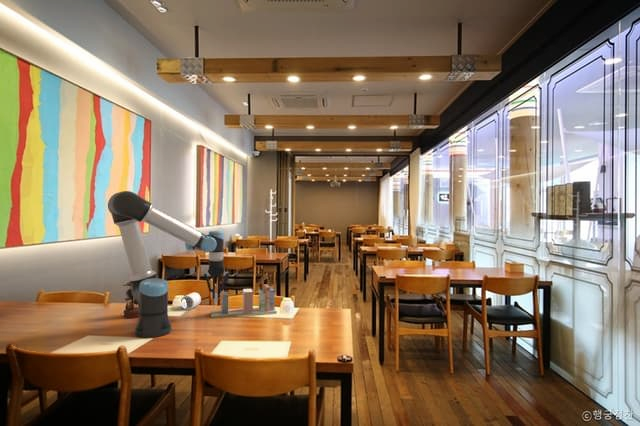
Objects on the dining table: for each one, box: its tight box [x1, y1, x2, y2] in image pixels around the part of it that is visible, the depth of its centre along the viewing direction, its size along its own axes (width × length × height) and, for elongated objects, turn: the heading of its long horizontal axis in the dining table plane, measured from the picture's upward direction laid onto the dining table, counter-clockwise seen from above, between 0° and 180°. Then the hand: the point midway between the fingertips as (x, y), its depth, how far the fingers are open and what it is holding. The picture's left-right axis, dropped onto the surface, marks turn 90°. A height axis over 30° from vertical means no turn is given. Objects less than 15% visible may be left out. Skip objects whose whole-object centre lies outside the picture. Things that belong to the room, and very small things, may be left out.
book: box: [242, 288, 254, 313], centre depth 204 cm, size 9×5×11 cm, turn 16°
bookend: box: [221, 291, 229, 314], centre depth 201 cm, size 9×3×10 cm, turn 16°
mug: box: [180, 291, 202, 311], centre depth 215 cm, size 12×10×8 cm
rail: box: [210, 284, 278, 319], centre depth 204 cm, size 11×34×14 cm, turn 106°
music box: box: [122, 281, 139, 320], centre depth 198 cm, size 15×11×20 cm
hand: (216, 304), depth 200 cm, fingers closed
